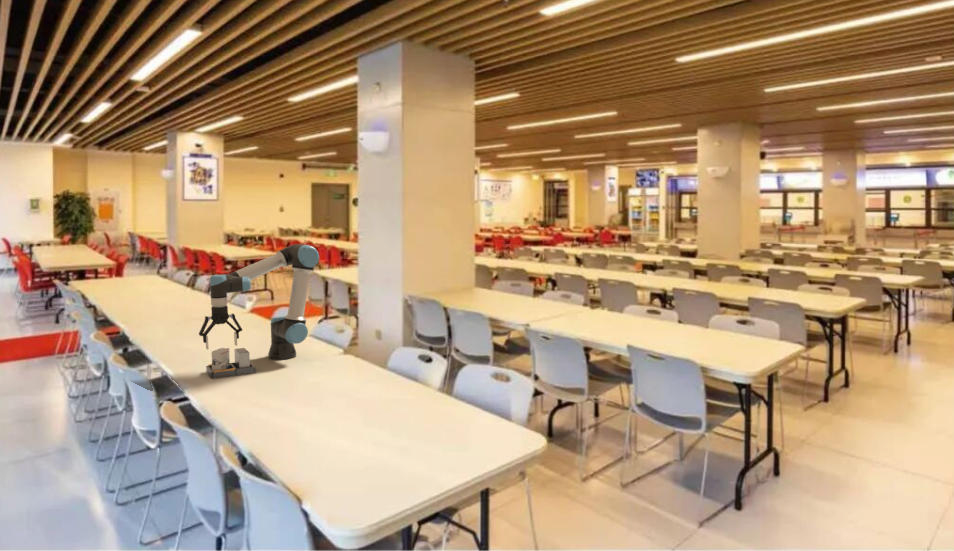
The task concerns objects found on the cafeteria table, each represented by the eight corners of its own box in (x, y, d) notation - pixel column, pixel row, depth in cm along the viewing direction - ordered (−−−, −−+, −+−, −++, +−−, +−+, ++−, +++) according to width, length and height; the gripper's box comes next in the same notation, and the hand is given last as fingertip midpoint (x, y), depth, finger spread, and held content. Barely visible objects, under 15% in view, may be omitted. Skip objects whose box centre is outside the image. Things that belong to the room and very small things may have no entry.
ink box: (221, 369, 309) (220, 347, 308) (230, 370, 308) (229, 348, 307) (211, 374, 301) (210, 351, 299) (220, 374, 300) (219, 351, 298)
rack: (249, 366, 319) (248, 346, 318) (255, 373, 307) (255, 351, 306) (206, 371, 308) (205, 350, 306) (211, 379, 295) (210, 356, 294)
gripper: (243, 302, 311) (245, 342, 313) (191, 307, 297) (193, 348, 300) (247, 304, 304) (249, 345, 307) (193, 309, 291) (196, 352, 294)
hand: (221, 347), depth 304 cm, fingers open, 13 cm apart
